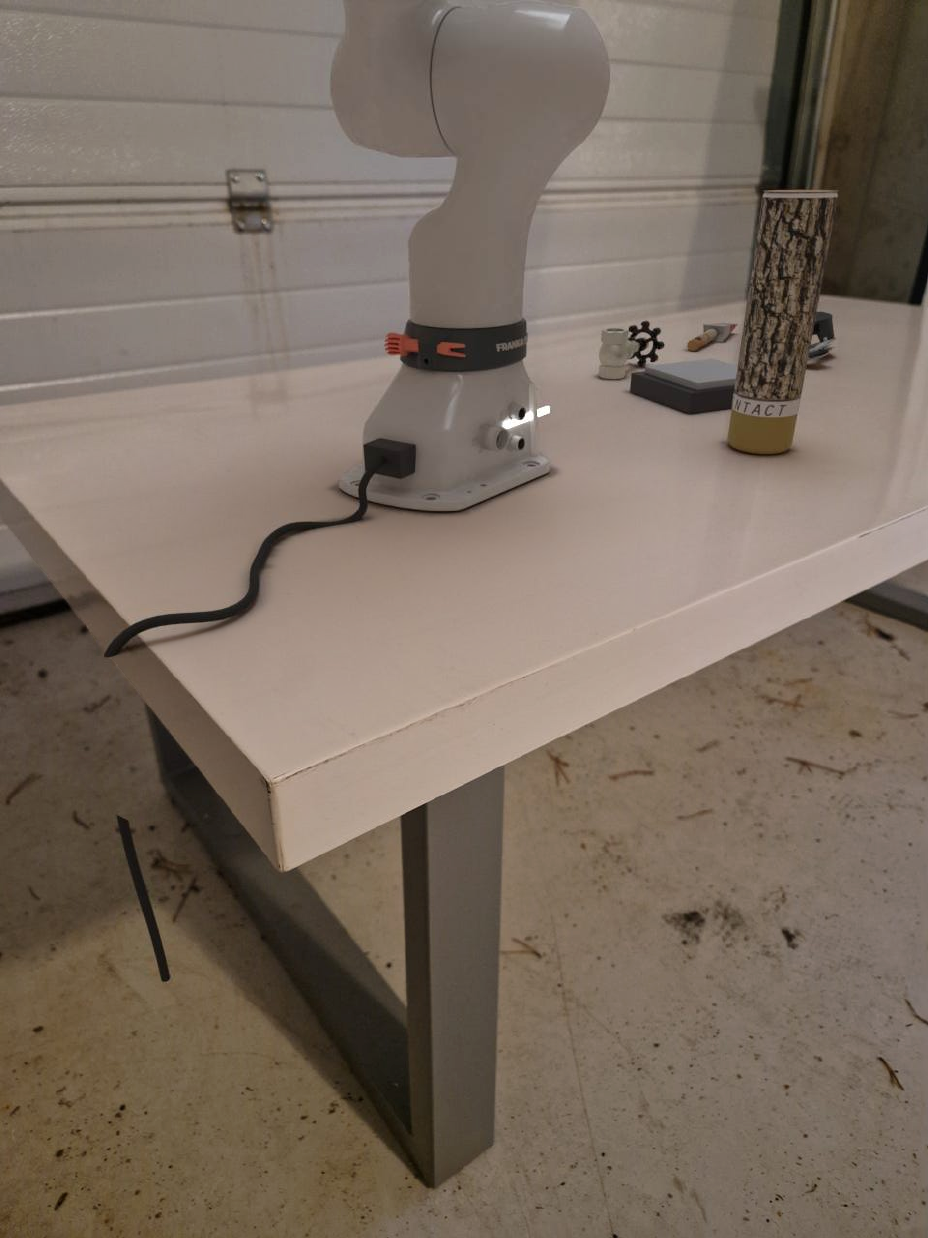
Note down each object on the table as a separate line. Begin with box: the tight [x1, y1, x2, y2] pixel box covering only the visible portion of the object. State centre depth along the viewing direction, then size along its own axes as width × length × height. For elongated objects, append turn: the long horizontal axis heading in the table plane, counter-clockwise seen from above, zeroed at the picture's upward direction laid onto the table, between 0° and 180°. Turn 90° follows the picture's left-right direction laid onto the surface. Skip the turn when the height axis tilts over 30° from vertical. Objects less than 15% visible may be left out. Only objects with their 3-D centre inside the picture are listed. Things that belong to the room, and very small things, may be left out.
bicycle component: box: [808, 311, 837, 362], centre depth 130 cm, size 12×7×15 cm
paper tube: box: [727, 189, 839, 455], centre depth 85 cm, size 7×7×25 cm
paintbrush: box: [686, 322, 739, 352], centre depth 144 cm, size 4×3×20 cm
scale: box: [629, 357, 738, 415], centre depth 110 cm, size 13×13×4 cm
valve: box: [598, 320, 666, 380], centre depth 123 cm, size 7×7×12 cm
